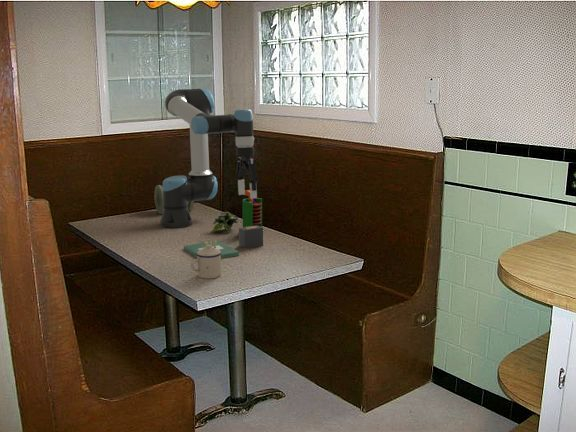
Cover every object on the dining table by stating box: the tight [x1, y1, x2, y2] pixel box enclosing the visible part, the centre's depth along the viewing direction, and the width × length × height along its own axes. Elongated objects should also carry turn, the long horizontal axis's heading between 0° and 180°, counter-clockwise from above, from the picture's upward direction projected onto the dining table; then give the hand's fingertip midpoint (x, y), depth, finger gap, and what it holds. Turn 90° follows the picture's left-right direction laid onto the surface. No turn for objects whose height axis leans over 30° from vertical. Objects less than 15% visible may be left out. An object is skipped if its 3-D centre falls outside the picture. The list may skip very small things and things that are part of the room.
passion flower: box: [212, 211, 239, 235], centre depth 299 cm, size 11×11×12 cm
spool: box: [153, 184, 195, 215], centre depth 338 cm, size 16×15×15 cm
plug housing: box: [238, 225, 264, 249], centre depth 276 cm, size 5×9×8 cm, turn 121°
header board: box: [183, 240, 240, 259], centre depth 267 cm, size 20×16×4 cm
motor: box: [242, 189, 263, 227], centre depth 294 cm, size 10×9×20 cm
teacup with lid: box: [190, 245, 222, 280], centre depth 236 cm, size 12×9×12 cm
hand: (247, 196), depth 274 cm, fingers open, 13 cm apart
